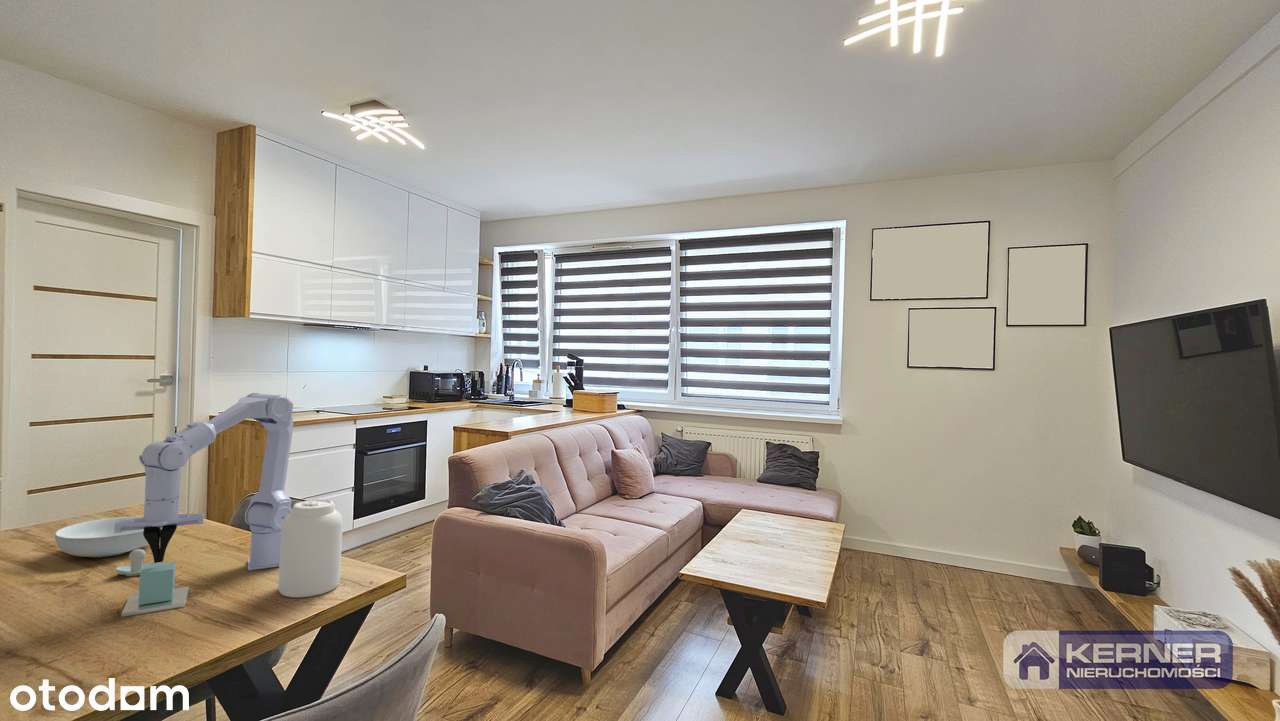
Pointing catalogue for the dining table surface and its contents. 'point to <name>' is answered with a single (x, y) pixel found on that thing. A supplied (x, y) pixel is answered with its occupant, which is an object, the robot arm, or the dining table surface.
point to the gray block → (176, 602)
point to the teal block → (157, 583)
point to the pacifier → (134, 563)
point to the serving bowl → (99, 538)
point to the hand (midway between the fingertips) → (158, 561)
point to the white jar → (310, 549)
